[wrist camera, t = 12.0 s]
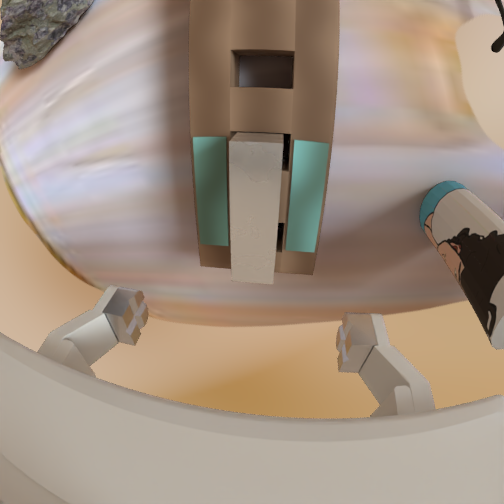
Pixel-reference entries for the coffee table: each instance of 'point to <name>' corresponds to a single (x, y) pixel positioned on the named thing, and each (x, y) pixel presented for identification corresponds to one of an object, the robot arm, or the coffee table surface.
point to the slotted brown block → (263, 116)
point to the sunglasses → (500, 42)
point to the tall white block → (254, 204)
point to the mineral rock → (36, 27)
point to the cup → (469, 250)
